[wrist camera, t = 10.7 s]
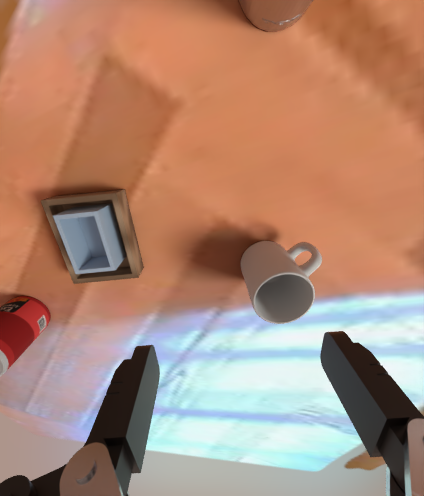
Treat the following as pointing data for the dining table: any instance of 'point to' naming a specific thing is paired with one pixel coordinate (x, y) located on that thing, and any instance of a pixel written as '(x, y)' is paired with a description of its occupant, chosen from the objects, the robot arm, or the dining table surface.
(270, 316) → the mug
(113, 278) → the box
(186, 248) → the dining table surface
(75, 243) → the small crate
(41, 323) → the canned food
